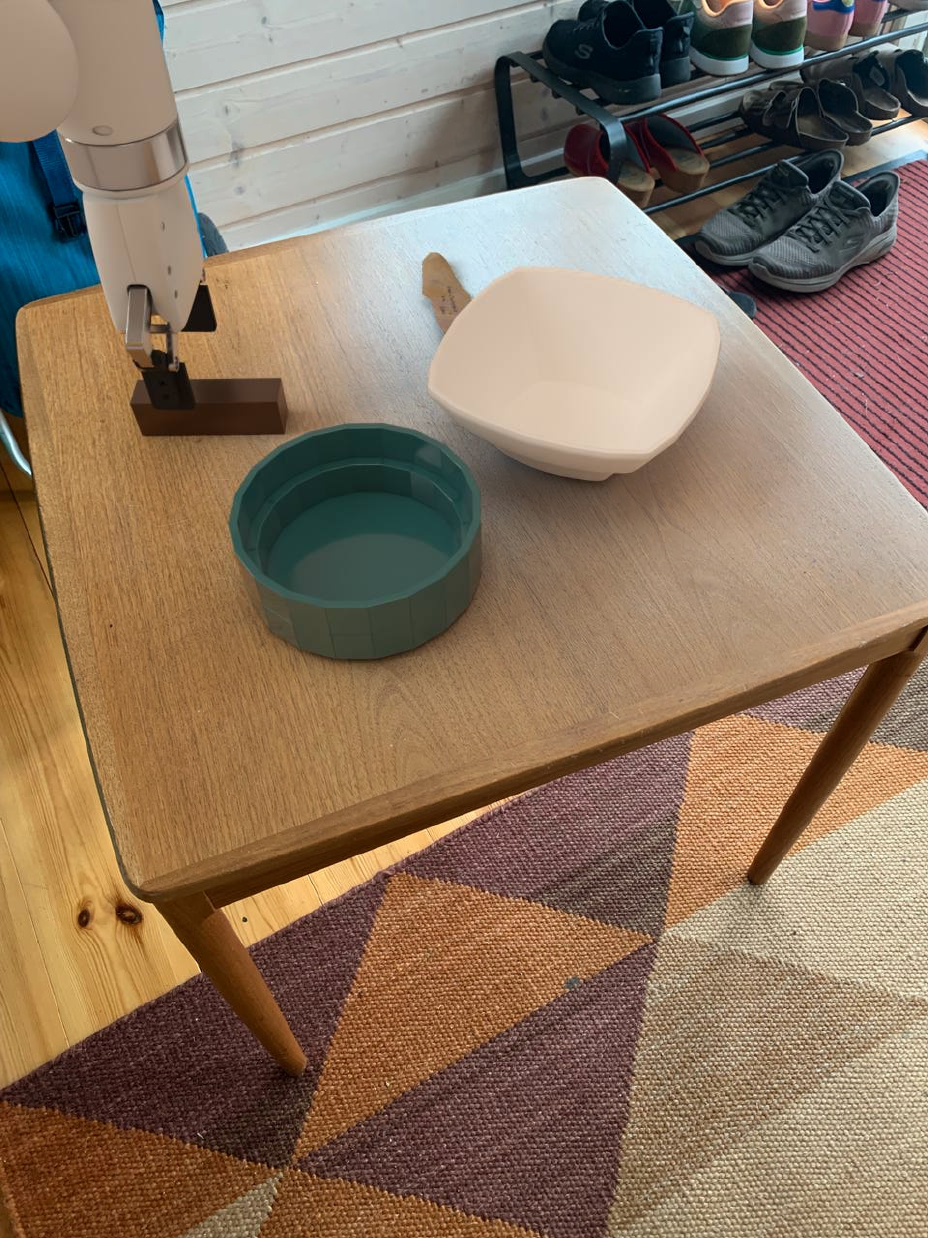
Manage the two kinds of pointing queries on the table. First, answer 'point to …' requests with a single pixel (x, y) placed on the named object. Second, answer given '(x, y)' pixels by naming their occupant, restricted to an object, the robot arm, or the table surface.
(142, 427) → the brown wooden block
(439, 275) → the stone tool
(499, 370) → the bowl
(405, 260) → the table surface
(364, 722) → the table surface
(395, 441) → the mixing bowl
